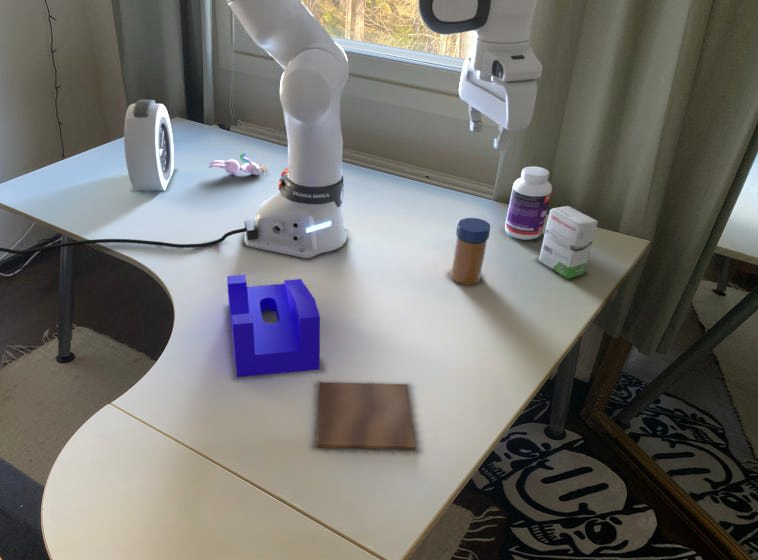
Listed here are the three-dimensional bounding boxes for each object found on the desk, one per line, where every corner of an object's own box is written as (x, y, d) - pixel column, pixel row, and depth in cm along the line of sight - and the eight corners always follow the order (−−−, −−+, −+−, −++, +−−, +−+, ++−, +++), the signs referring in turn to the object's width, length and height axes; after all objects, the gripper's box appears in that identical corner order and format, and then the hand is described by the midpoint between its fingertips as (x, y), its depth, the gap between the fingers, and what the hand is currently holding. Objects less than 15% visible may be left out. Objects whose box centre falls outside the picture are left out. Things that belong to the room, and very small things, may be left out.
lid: (455, 241, 126) (457, 230, 125) (456, 227, 131) (458, 216, 129) (488, 244, 125) (490, 233, 124) (488, 230, 130) (490, 219, 128)
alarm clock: (161, 197, 164) (150, 116, 152) (131, 197, 164) (117, 115, 152) (176, 164, 181) (166, 89, 169) (148, 164, 181) (137, 88, 169)
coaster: (317, 447, 96) (317, 444, 96) (319, 385, 107) (319, 382, 107) (414, 449, 95) (415, 446, 95) (406, 387, 107) (407, 384, 106)
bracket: (319, 369, 110) (320, 316, 104) (237, 377, 109) (232, 324, 102) (301, 301, 127) (300, 252, 120) (229, 307, 125) (225, 258, 119)
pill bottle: (542, 243, 145) (557, 180, 136) (504, 240, 146) (517, 177, 137) (539, 227, 151) (554, 165, 142) (503, 223, 152) (515, 162, 144)
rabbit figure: (263, 173, 179) (207, 167, 176) (266, 151, 176) (209, 145, 173) (265, 182, 175) (208, 176, 171) (268, 160, 171) (209, 154, 168)
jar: (450, 282, 132) (457, 232, 125) (451, 268, 136) (458, 219, 130) (479, 286, 131) (489, 235, 124) (480, 271, 135) (489, 221, 129)
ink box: (585, 274, 134) (601, 220, 127) (566, 279, 133) (581, 225, 125) (555, 255, 141) (568, 203, 133) (536, 260, 139) (549, 208, 132)
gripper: (455, 44, 117) (446, 123, 126) (511, 73, 101) (497, 161, 110) (488, 41, 118) (477, 120, 127) (548, 69, 102) (531, 157, 111)
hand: (487, 139), depth 118 cm, fingers open, 8 cm apart
